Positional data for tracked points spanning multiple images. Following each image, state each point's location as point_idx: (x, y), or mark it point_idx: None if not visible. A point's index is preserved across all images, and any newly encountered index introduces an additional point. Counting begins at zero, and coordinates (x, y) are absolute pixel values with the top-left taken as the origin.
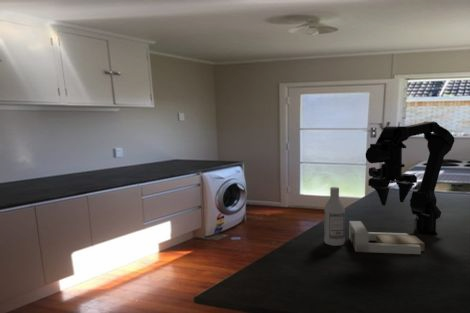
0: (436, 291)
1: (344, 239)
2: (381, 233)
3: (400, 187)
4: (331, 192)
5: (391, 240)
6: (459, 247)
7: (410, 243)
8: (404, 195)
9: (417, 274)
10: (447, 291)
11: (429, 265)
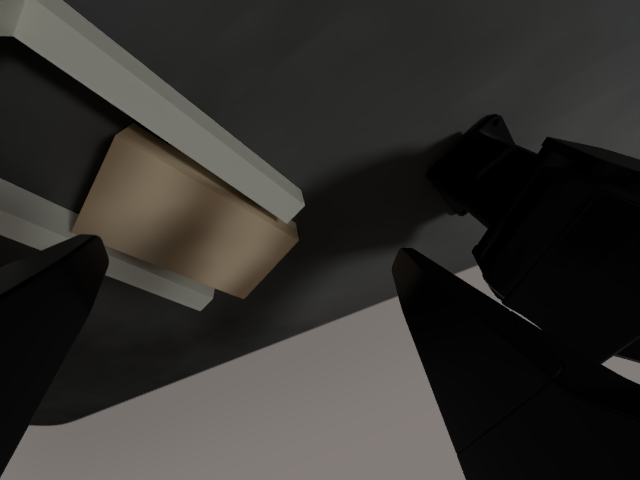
0: (50, 397)
1: None
2: (174, 132)
3: (547, 414)
4: None
5: (139, 231)
6: (361, 300)
7: (196, 280)
8: (419, 349)
9: (69, 354)
10: (77, 400)
11: (154, 336)
